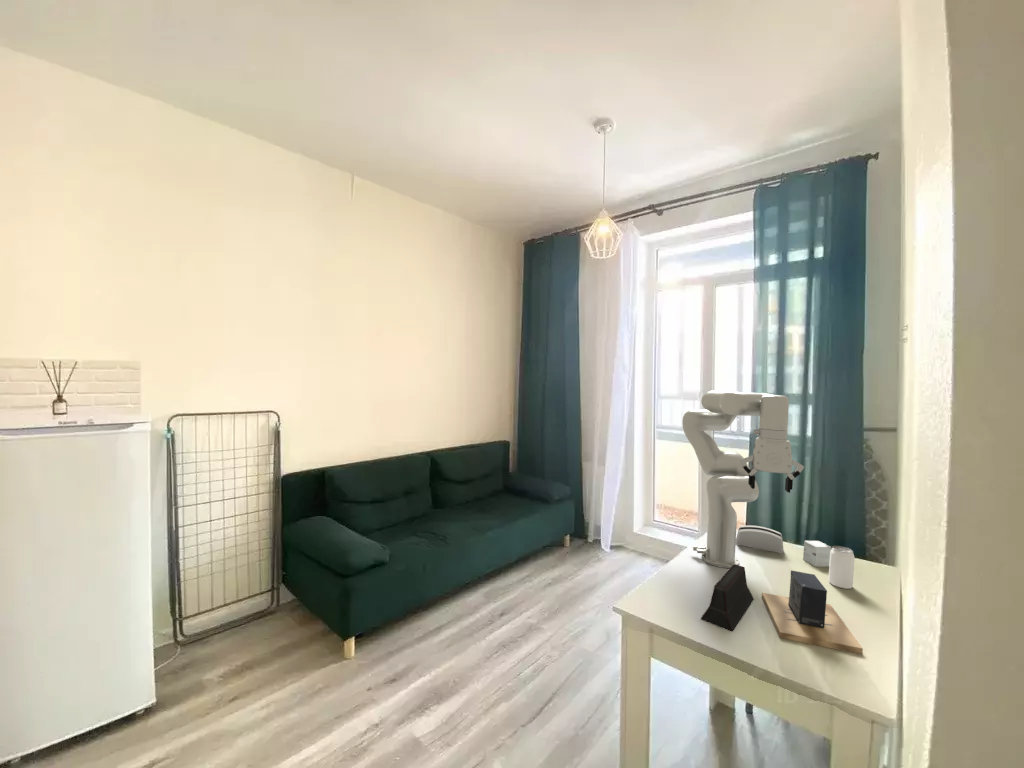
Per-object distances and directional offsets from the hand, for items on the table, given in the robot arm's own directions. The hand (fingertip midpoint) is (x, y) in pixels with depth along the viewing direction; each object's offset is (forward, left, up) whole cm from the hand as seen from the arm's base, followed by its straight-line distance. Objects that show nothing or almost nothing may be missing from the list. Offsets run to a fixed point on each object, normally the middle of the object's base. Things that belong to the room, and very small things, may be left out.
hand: (769, 489), depth 136 cm
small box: (+8, -13, -32) cm, 35 cm away
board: (+8, -13, -33) cm, 37 cm away
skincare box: (+24, +35, -34) cm, 54 cm away
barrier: (-12, -13, -34) cm, 38 cm away
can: (+26, +18, -34) cm, 46 cm away
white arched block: (+7, +42, -34) cm, 54 cm away
